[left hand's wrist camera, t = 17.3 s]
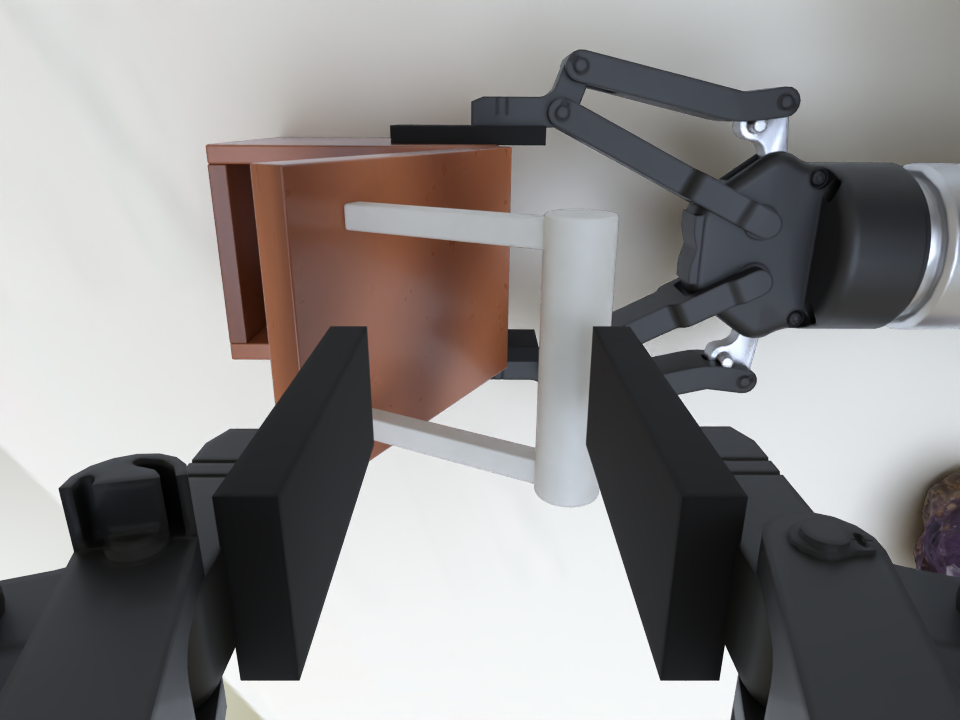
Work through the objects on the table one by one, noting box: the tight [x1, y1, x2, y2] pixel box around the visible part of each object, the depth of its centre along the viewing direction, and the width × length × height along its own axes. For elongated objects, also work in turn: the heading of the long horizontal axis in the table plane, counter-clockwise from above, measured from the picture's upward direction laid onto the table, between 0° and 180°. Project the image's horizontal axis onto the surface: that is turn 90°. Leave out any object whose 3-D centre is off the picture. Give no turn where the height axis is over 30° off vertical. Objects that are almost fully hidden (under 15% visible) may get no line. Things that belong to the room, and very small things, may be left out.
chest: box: [206, 137, 499, 360], centre depth 33 cm, size 12×9×10 cm
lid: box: [250, 146, 619, 507], centre depth 21 cm, size 12×9×8 cm
